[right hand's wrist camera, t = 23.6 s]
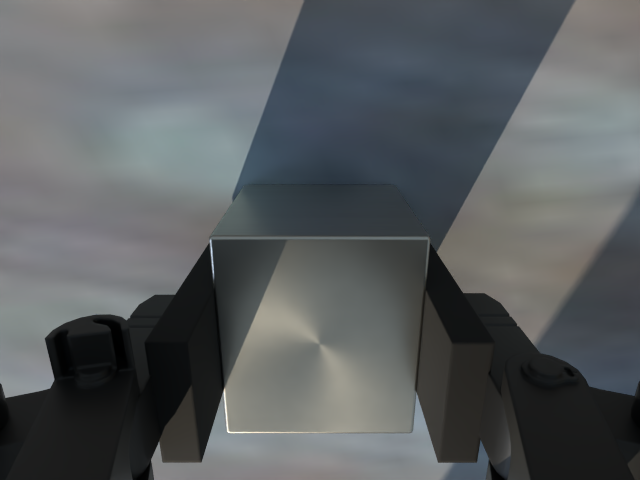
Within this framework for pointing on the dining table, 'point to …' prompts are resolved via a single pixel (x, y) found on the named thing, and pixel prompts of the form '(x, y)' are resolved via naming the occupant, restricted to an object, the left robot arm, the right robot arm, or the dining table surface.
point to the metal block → (319, 308)
